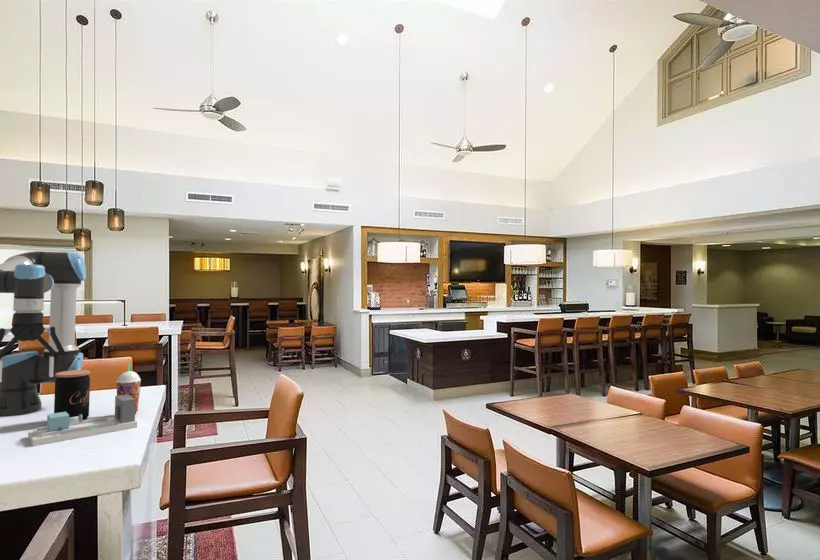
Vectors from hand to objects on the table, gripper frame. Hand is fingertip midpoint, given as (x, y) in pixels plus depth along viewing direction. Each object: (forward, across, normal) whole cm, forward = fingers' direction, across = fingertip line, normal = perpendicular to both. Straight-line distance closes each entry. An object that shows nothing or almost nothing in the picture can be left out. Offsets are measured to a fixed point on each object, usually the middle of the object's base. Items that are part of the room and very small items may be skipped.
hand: (26, 379), depth 145 cm
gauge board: (+20, +16, 0) cm, 26 cm away
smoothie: (+21, +33, +14) cm, 41 cm away
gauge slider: (+18, +11, -1) cm, 21 cm away
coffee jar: (+21, +16, +20) cm, 33 cm away
